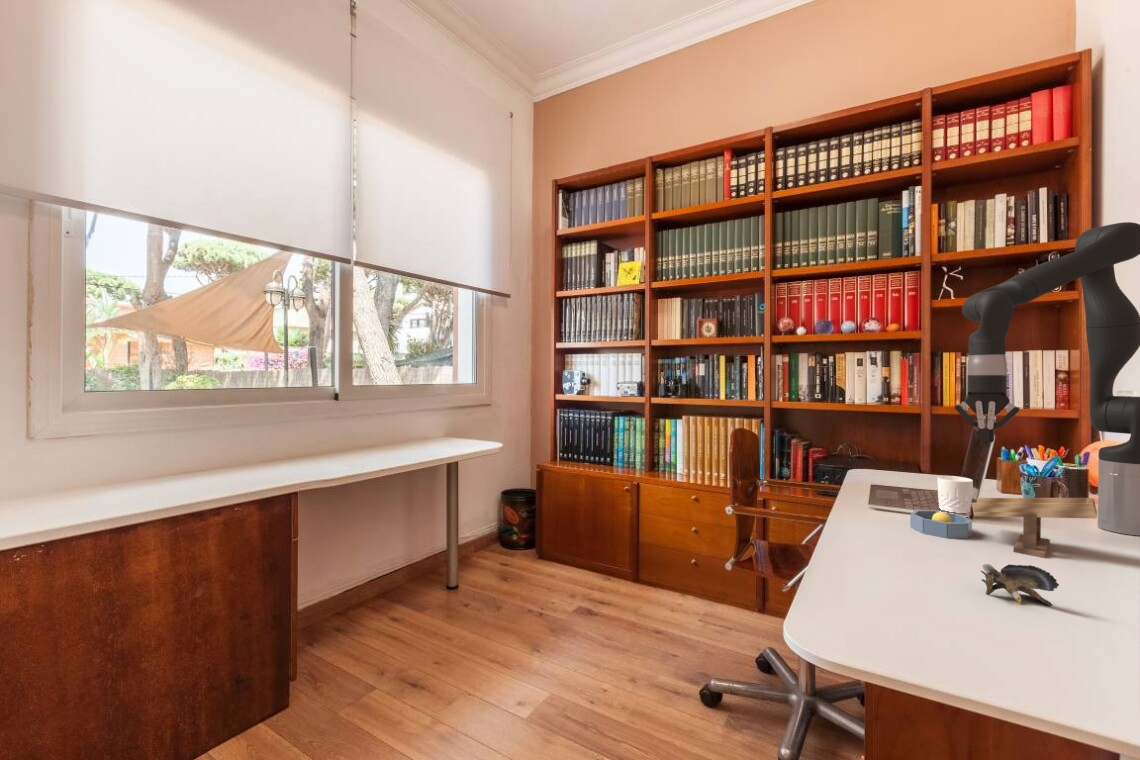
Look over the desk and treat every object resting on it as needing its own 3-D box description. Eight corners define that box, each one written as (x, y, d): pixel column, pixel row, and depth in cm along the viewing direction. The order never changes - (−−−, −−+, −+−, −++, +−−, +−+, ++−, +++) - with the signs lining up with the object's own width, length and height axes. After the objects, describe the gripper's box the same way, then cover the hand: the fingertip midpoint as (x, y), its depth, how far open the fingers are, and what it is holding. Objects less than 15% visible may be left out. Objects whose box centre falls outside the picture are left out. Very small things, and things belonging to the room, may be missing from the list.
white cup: (960, 511, 143) (960, 476, 143) (979, 519, 136) (980, 481, 136) (930, 510, 144) (930, 475, 144) (948, 518, 136) (948, 481, 136)
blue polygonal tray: (906, 530, 126) (906, 516, 126) (918, 521, 134) (918, 507, 134) (965, 541, 117) (965, 526, 117) (974, 531, 125) (974, 516, 125)
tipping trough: (971, 517, 118) (968, 502, 119) (981, 507, 127) (978, 494, 128) (1096, 519, 104) (1092, 503, 104) (1097, 508, 112) (1094, 493, 113)
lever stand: (1013, 551, 111) (1013, 512, 111) (1020, 538, 120) (1021, 502, 119) (1044, 557, 107) (1045, 517, 107) (1049, 543, 116) (1050, 506, 116)
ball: (942, 526, 127) (939, 510, 128) (957, 529, 124) (954, 512, 124) (929, 528, 127) (926, 512, 127) (943, 531, 123) (941, 514, 123)
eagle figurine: (999, 601, 84) (1067, 599, 81) (981, 557, 88) (1046, 553, 85) (988, 609, 90) (1051, 608, 87) (972, 568, 94) (1032, 565, 91)
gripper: (950, 373, 127) (950, 443, 127) (1020, 373, 117) (1020, 448, 117) (956, 373, 132) (956, 440, 132) (1024, 373, 122) (1024, 445, 123)
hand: (986, 443), depth 125 cm, fingers closed
